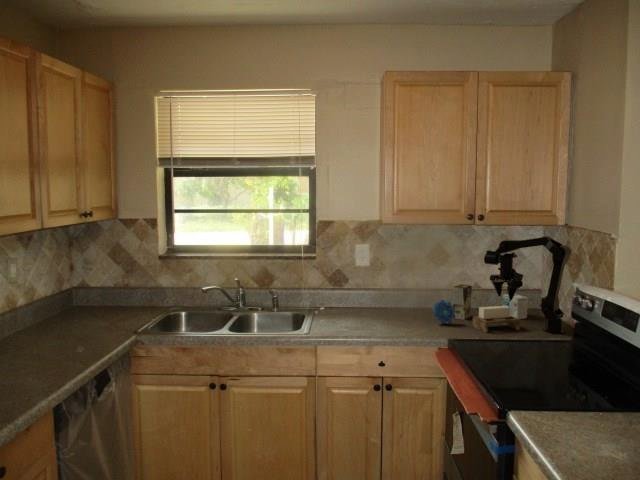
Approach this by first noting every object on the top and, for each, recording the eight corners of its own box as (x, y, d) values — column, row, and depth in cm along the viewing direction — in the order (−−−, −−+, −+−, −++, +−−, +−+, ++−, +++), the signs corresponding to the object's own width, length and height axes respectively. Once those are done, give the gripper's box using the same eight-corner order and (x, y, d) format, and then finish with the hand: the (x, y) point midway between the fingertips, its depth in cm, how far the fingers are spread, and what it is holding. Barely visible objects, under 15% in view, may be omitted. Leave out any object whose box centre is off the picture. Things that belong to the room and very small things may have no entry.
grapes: (434, 326, 248) (435, 301, 246) (430, 323, 254) (430, 298, 253) (458, 325, 249) (459, 301, 248) (453, 322, 256) (454, 298, 254)
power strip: (509, 322, 246) (510, 307, 246) (483, 324, 243) (483, 309, 242) (504, 320, 250) (505, 305, 249) (478, 322, 247) (479, 307, 246)
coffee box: (464, 320, 260) (465, 288, 258) (452, 318, 263) (452, 286, 262) (471, 316, 267) (472, 285, 265) (458, 314, 271) (459, 283, 269)
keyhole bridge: (519, 329, 242) (519, 319, 242) (485, 332, 238) (485, 321, 237) (505, 323, 253) (505, 313, 252) (472, 326, 248) (472, 316, 248)
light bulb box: (501, 314, 271) (502, 294, 269) (511, 313, 273) (512, 293, 272) (517, 319, 261) (518, 298, 260) (527, 318, 264) (528, 297, 263)
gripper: (533, 268, 246) (531, 301, 247) (509, 262, 264) (508, 293, 265) (512, 269, 243) (511, 302, 244) (489, 263, 261) (488, 294, 262)
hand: (505, 298), depth 254 cm, fingers open, 9 cm apart
